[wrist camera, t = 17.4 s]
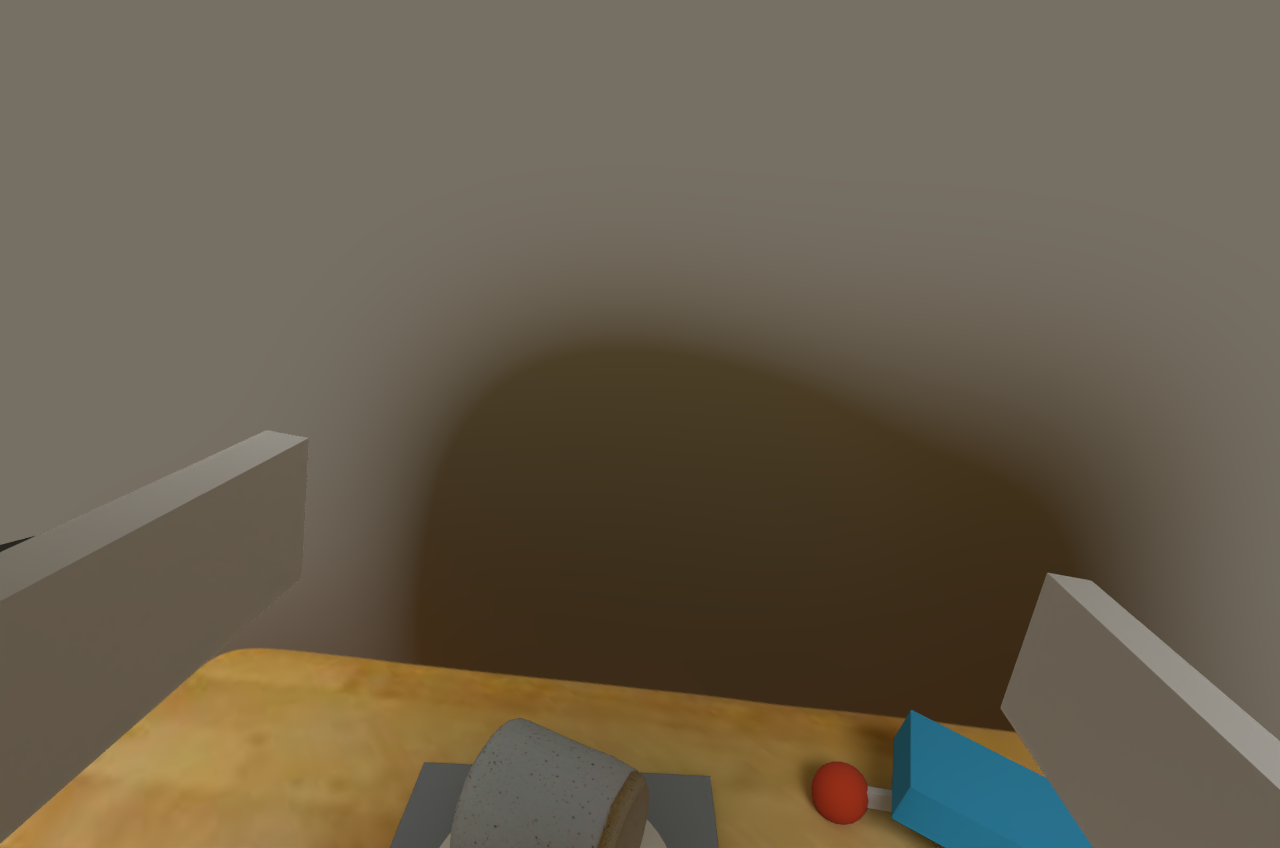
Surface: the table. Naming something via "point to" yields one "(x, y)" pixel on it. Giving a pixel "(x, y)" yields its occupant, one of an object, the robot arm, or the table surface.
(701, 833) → the mat
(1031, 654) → the robot arm
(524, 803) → the ceramic mug
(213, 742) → the table surface
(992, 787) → the lever
